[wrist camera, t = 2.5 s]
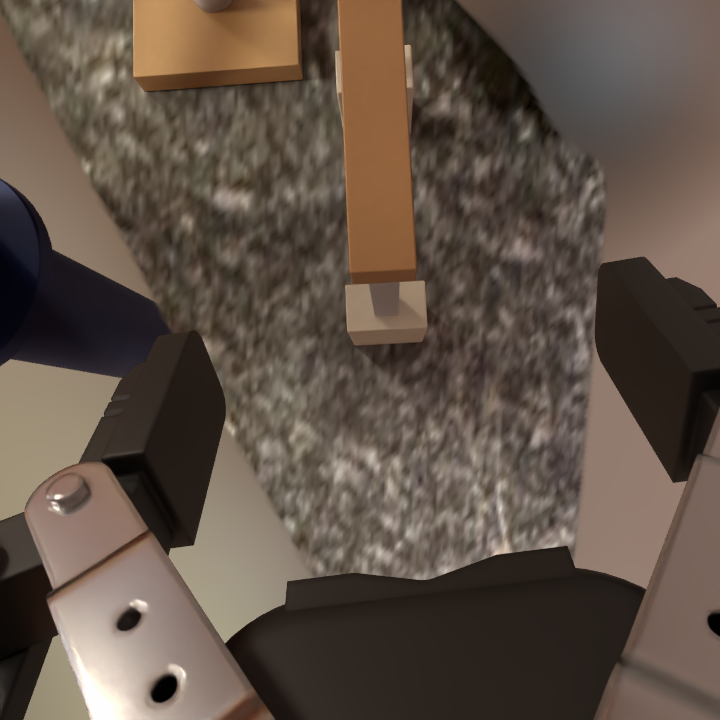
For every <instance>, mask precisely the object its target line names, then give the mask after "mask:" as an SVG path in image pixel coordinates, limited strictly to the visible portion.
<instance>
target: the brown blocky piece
mask: <svg viewBox="0 0 720 720" xmlns="http://www.w3.org/2000/svg"><path fill="white" fill-rule="evenodd" d="M338 23H339V46H340V51H336V52H335V60H336V83H337V96H338V102H339V107H340V113H341V119H342V125H343V137H344V159H345V182H346V205H347V228H348V250H349V272H350V275H351V279H352V282H353V284H354V285H346V286H345V293H346V316H347V332H348V334H349V336H350V338H351V340H352V342H353V344H354V345H355V346H356V345H375V344H394V343H413V342H423V339H424V336H425V333H426V330H427V327H428V326H427V308H426V291H425V281H415V279H416V272H417V257H416V240H415V222H414V205H413V187H412V169H411V152H410V134H411V123H412V106H413V88H414V86H413V68H412V51H411V45H404V29H403V11H402V0H338Z"/></svg>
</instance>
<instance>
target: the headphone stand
mask: <svg viewBox="0 0 720 720" xmlns="http://www.w3.org/2000/svg"><path fill="white" fill-rule="evenodd" d="M133 44H134V78H135V80H136V81H137V82H138V84H139V85H140V86H141V88H142V89H143V90H144V91H158V90H171V89H184V88H197V87H210V86H224V85H237V84H250V83H263V82H276V81H289V80H302V79H303V73H302V45H301V18H300V0H133Z"/></svg>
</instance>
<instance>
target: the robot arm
mask: <svg viewBox="0 0 720 720" xmlns="http://www.w3.org/2000/svg"><path fill="white" fill-rule="evenodd" d="M716 305H717V304H716V303H715V302H714V301H713V300H712V299H711V298H710V297H709V296H708V295H707V294H706V293H705V292H704V291H703V290H702V289H701V288H698V287H696V286H694V285H692V284H690V283H688V282H685V281H683V280H681V279H679V278H677V277H675V278H668V279H665V278H664V277H663V276H662V275H661V273H660V272H659V271H658V270H657V269H656V268H655V267H654V266H653V265H652V264H651V263H650V262H649V260H647V259H646V258H645V257H638V258H632V259H626V260H620V261H614V262H608V263H603V264H602V265H601V266H600V268H599V272H598V283H597V301H596V318H595V342H596V348H597V352H598V355H599V358H600V361H601V363H602V364H603V366H604V368H605V369H606V371H607V372H608V374H609V376H610V378H611V379H612V381H613V383H614V384H615V386H616V388H617V389H618V391H619V393H620V394H621V396H622V398H623V399H624V401H625V403H626V404H627V406H628V408H629V409H630V411H631V413H632V414H633V416H634V418H635V419H636V421H637V423H638V424H639V426H640V428H641V429H642V431H643V433H644V435H645V436H646V438H647V439H648V441H649V443H650V445H651V446H652V448H653V450H654V451H655V453H656V455H657V456H658V458H659V460H660V461H661V463H662V465H663V466H664V468H665V470H666V471H667V473H668V475H669V476H670V478H671V480H672V481H673V483H675V482H683V481H687V483H686V486H685V488H684V491H683V494H682V497H681V499H680V502H679V505H678V507H677V510H676V512H675V515H674V518H673V520H672V523H671V526H670V528H669V531H668V534H667V537H666V539H665V542H664V544H663V547H662V550H661V552H660V555H659V558H658V560H657V563H656V566H655V568H654V571H653V574H652V576H651V579H650V582H649V585H648V587H647V590H646V589H644V588H642V587H640V586H638V585H636V584H633V583H631V582H629V581H627V580H624V579H621V578H618V577H615V576H612V575H609V574H606V573H602V572H597V571H592V570H588V569H580V568H575V566H574V563H573V560H572V558H571V555H570V552H569V549H568V547H567V546H563V547H555V548H547V549H539V550H531V551H523V552H515V553H507V554H499V555H495V556H492V557H489V558H487V559H484V560H481V561H479V562H476V563H473V564H471V565H468V566H465V567H463V568H460V569H457V570H455V571H452V572H449V573H446V574H444V575H441V576H438V577H436V578H433V579H429V580H414V579H405V578H396V577H386V576H377V575H368V574H359V573H350V574H342V575H334V576H326V577H318V578H310V579H302V580H295V581H288V582H287V591H286V602H285V605H282V606H279V607H277V608H275V609H273V610H271V611H269V612H267V613H265V614H263V615H261V616H260V617H258V618H256V619H255V620H254V621H252V622H250V623H249V624H247V625H246V626H245V627H243V628H242V629H241V630H240V631H238V632H237V633H236V634H235V635H233V636H232V637H231V638H230V639H229V640H228V641H227V642H226V643H224V642H223V640H222V639H221V637H220V636H219V634H218V633H217V631H216V630H215V628H214V626H213V625H212V623H211V622H210V620H209V619H208V617H207V616H206V614H205V613H204V611H203V609H202V608H201V606H200V605H199V604H198V602H197V600H196V599H195V598H194V596H193V594H192V593H191V591H190V589H189V588H188V586H187V585H186V584H185V582H184V580H183V579H182V577H181V576H180V574H179V572H178V571H177V569H176V568H175V566H174V565H173V563H172V562H171V560H170V559H169V557H168V555H169V551H170V548H176V547H184V546H191V545H194V542H195V538H196V534H197V530H198V526H199V522H200V518H201V514H202V510H203V506H204V502H205V498H206V494H207V490H208V486H209V482H210V478H211V474H212V470H213V466H214V461H215V457H216V454H217V449H218V446H219V442H220V438H221V433H222V429H223V425H224V421H225V416H226V405H225V398H224V393H223V390H222V387H221V385H220V382H219V380H218V377H217V375H216V372H215V370H214V367H213V365H212V362H211V360H210V357H209V355H208V352H207V350H206V347H205V345H204V342H203V340H202V338H201V336H200V334H199V333H198V332H197V331H195V330H193V331H187V332H181V333H175V334H169V335H163V336H159V337H158V338H157V339H156V341H155V343H154V345H153V347H152V349H151V351H150V353H149V356H148V358H147V360H146V362H145V363H139V364H137V365H136V366H135V367H134V368H133V369H132V370H131V371H130V372H129V373H128V374H127V375H126V376H125V377H124V378H122V379H121V381H120V382H119V384H118V386H117V388H116V390H115V392H114V394H113V396H112V398H111V400H112V402H109V404H108V406H107V408H106V410H105V412H104V417H102V418H101V420H100V422H99V424H98V426H97V428H96V430H95V432H94V434H93V435H92V437H91V439H90V442H89V443H88V445H87V447H86V449H85V452H84V453H83V455H82V457H81V459H80V461H79V463H78V464H75V465H72V466H69V467H67V468H64V469H63V470H60V471H59V472H57V473H55V474H54V475H52V476H50V477H49V478H48V479H46V480H45V481H44V482H43V483H42V484H41V485H39V486H38V488H37V489H36V490H35V491H34V492H33V493H32V495H31V496H30V498H29V499H28V502H27V503H26V507H25V512H22V513H20V514H17V515H15V516H12V517H9V518H7V519H4V520H2V521H0V720H23V719H24V716H25V713H26V710H27V708H28V705H29V702H30V699H31V697H32V694H33V691H34V688H35V685H36V683H37V680H38V677H39V674H40V672H41V669H42V666H43V663H44V660H45V657H46V655H47V652H48V649H49V647H50V644H51V641H52V638H53V637H54V636H57V635H59V636H60V638H61V641H62V644H63V646H64V649H65V652H66V654H67V657H68V659H69V662H70V665H71V667H72V670H73V673H74V675H75V678H76V681H77V683H78V686H79V689H80V691H81V694H82V697H83V699H84V702H85V704H86V707H87V710H88V713H89V715H90V718H91V720H720V307H718V308H717V306H716Z"/></svg>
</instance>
